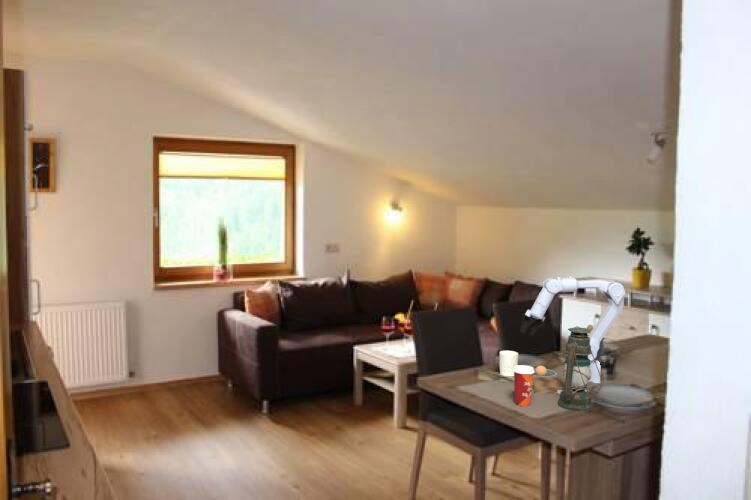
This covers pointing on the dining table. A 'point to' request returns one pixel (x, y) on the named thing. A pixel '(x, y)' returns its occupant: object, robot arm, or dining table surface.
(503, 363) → the white cup
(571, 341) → the lantern
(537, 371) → the ball
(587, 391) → the ladle
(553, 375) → the bowl
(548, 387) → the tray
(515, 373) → the paper cup
